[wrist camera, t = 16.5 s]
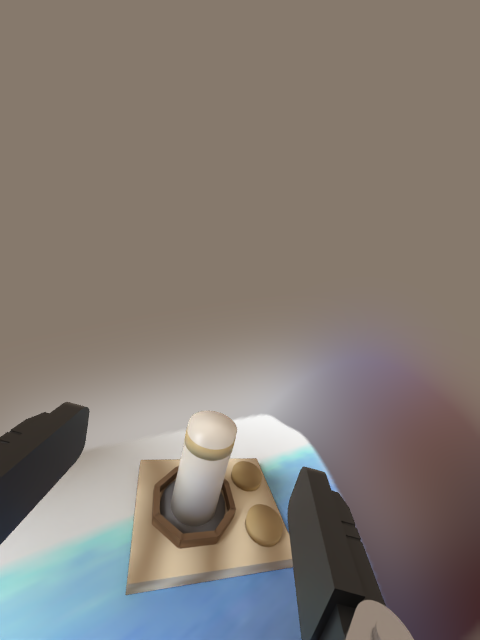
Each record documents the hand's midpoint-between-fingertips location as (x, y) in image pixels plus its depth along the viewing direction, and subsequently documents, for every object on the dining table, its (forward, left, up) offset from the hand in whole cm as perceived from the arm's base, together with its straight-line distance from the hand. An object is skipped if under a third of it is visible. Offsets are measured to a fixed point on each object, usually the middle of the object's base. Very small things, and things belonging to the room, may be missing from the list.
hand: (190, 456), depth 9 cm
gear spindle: (+5, +15, -19) cm, 25 cm away
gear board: (+7, +15, -21) cm, 27 cm away
